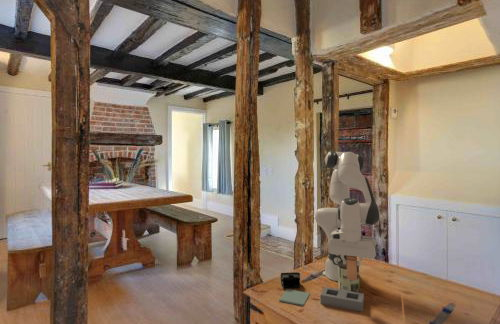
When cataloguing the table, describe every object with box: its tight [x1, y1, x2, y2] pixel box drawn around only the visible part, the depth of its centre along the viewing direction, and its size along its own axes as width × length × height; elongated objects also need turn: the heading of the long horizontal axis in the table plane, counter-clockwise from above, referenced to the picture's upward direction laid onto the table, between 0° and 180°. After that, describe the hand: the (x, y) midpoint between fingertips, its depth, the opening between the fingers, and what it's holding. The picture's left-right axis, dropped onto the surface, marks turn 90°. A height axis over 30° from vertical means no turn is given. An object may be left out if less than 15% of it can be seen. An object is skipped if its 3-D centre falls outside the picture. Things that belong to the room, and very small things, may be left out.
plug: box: [346, 256, 358, 280], centre depth 131 cm, size 4×4×10 cm
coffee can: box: [337, 261, 360, 293], centre depth 146 cm, size 10×10×14 cm
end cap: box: [280, 271, 302, 290], centre depth 154 cm, size 10×7×7 cm
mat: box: [278, 289, 311, 307], centre depth 141 cm, size 12×12×1 cm
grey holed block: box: [319, 286, 365, 313], centre depth 133 cm, size 9×18×5 cm, turn 64°
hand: (351, 265), depth 131 cm, fingers closed on plug, 4 cm apart
